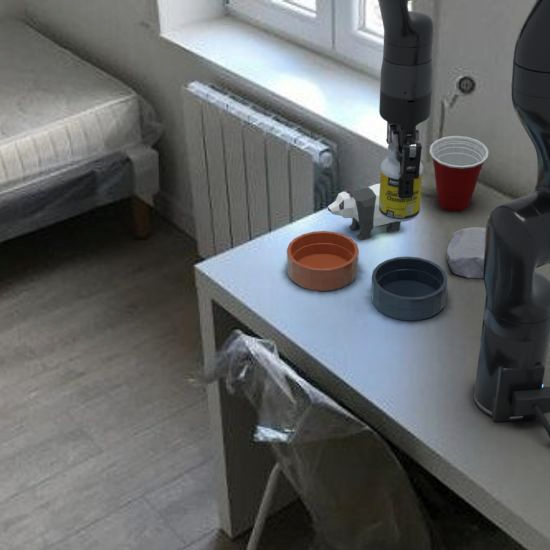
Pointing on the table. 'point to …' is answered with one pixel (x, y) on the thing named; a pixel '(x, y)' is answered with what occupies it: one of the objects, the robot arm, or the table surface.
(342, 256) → the terracotta bowl
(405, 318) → the metal bowl
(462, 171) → the plastic cup
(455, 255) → the stone block
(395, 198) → the pill bottle
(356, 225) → the giant panda
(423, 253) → the table surface
